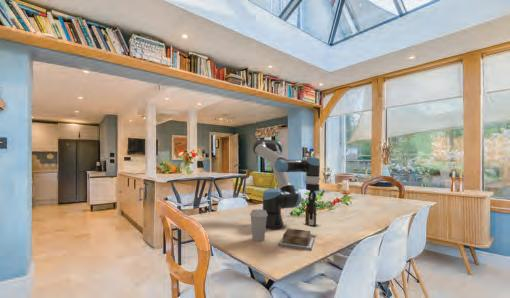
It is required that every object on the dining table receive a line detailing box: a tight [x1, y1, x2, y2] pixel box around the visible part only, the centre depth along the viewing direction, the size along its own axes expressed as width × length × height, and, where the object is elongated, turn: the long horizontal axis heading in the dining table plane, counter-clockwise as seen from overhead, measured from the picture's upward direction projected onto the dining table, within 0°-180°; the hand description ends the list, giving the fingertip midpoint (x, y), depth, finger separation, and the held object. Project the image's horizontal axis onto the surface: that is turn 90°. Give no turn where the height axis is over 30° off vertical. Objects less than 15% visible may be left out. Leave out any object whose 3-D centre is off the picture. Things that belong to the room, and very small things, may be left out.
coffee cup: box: [249, 208, 268, 243], centre depth 125 cm, size 10×10×15 cm
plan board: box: [277, 236, 315, 251], centre depth 121 cm, size 16×16×1 cm
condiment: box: [303, 202, 322, 228], centre depth 136 cm, size 7×8×12 cm
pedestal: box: [282, 228, 311, 246], centre depth 121 cm, size 12×12×4 cm
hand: (311, 223), depth 137 cm, fingers closed on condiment, 6 cm apart
